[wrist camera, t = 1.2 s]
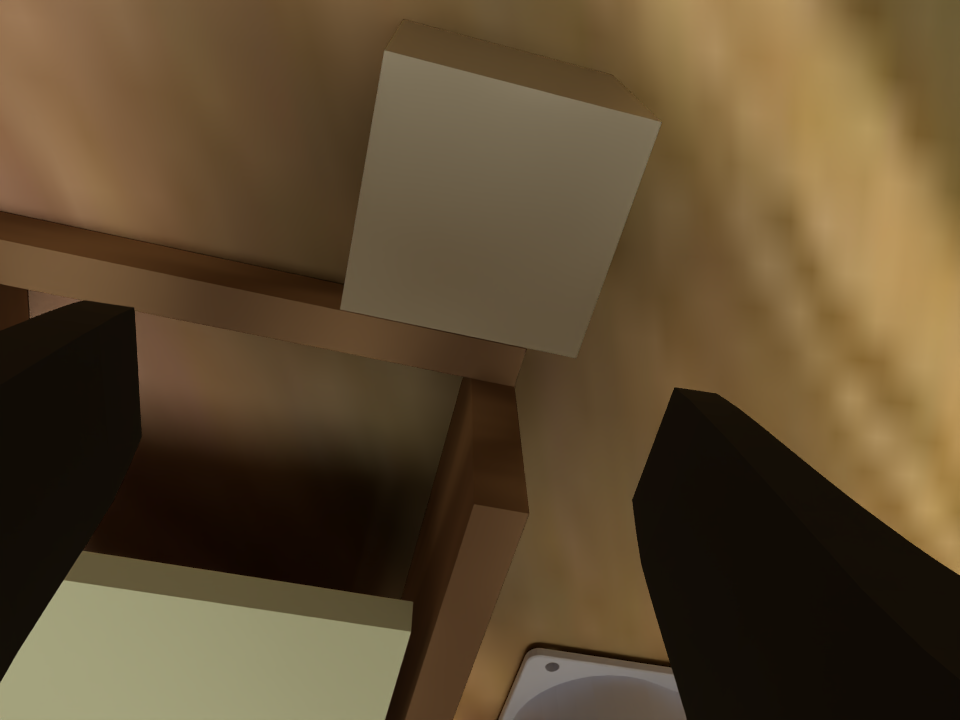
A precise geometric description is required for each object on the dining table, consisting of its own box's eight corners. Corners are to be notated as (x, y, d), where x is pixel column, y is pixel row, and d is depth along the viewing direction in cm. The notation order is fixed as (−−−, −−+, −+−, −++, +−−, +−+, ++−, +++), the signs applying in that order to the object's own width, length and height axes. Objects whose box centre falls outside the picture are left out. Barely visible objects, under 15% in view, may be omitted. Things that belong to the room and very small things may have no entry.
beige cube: (611, 74, 17) (661, 122, 13) (550, 265, 20) (576, 358, 16) (403, 18, 17) (384, 50, 12) (366, 223, 19) (339, 309, 15)
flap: (413, 601, 18) (410, 631, 17) (365, 765, 22) (362, 796, 21) (-67, 527, 17) (-93, 556, 16) (-36, 716, 20) (-56, 747, 19)
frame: (522, 322, 21) (547, 485, 15) (418, 655, 28) (406, 859, 22) (-28, 205, 19) (-264, 338, 13) (10, 597, 26) (-130, 804, 19)
